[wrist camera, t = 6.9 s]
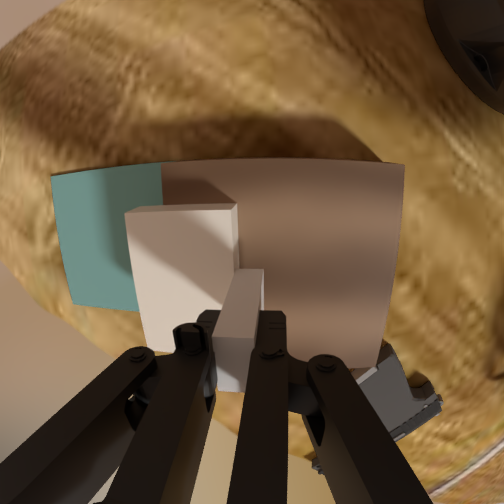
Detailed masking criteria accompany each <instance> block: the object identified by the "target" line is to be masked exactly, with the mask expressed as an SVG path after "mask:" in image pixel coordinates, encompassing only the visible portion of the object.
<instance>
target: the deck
mask: <svg viewBox="0 0 504 504" xmlns="http://www.w3.org/2000/svg"><path fill="white" fill-rule="evenodd" d="M404 170H405V165H403V164H396V163H389V162H380V161H367V160H351V159H331V158H294V157H256V158H220V159H199V160H183V161H174V162H167V163H161V181H162V196H163V205H183V204H219V203H237V216H238V243H239V268H240V269H264V310H282V312H283V313H284V314H285V315H286V327H287V350H288V352H289V354H290V355H291V356H292V357H294V358H296V359H298V360H302V361H306V362H308V361H309V359H311V358H312V357H313V356H316V355H320V354H329V355H334V356H336V357H338V358H340V359H341V360H342V361H343V362H344V363H345V365H346V366H347V368H366V367H375V366H376V363H377V359H378V355H379V351H380V346H381V342H382V338H383V333H384V329H385V324H386V319H387V315H388V309H389V304H390V299H391V293H392V287H393V281H394V275H395V268H396V261H397V254H398V246H399V238H400V228H401V218H402V206H403V191H404Z"/></svg>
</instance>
